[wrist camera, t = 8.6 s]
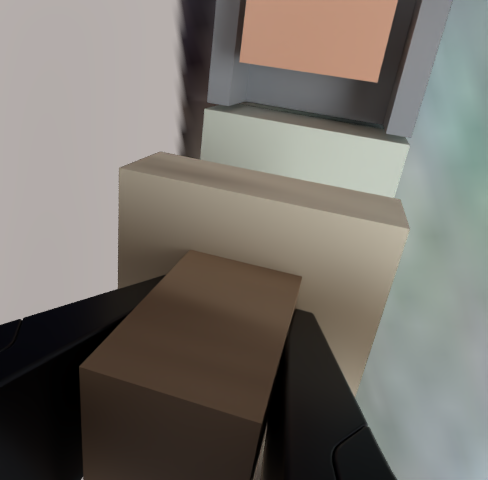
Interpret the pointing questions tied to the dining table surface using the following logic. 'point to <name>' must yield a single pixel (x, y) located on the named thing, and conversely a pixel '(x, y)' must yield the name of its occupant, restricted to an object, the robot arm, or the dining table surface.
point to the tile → (318, 36)
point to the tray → (331, 87)
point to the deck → (304, 148)
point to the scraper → (226, 311)
